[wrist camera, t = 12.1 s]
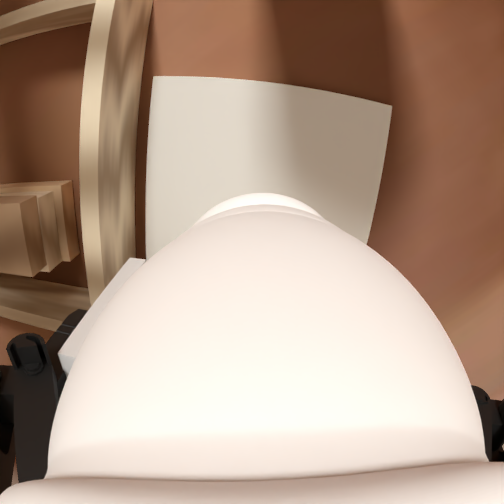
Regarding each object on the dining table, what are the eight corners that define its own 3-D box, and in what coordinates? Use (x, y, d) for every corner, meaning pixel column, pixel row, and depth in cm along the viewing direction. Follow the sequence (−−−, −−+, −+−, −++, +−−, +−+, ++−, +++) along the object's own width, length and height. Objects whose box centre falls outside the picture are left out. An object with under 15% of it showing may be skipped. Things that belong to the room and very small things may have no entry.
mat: (155, 77, 19) (153, 76, 18) (389, 106, 19) (392, 106, 19) (151, 329, 26) (150, 332, 26) (335, 346, 27) (336, 349, 27)
